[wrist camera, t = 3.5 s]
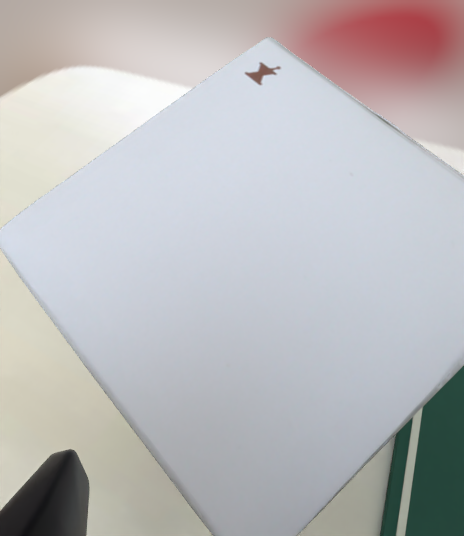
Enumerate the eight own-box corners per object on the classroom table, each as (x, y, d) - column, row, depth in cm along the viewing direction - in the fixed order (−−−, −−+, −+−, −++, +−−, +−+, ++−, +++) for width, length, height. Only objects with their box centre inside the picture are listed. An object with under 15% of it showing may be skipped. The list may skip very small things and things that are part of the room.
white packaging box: (146, 357, 19) (-28, 223, 8) (266, 256, 21) (273, 17, 9) (256, 496, 17) (244, 608, 5) (383, 370, 18) (590, 241, 7)
